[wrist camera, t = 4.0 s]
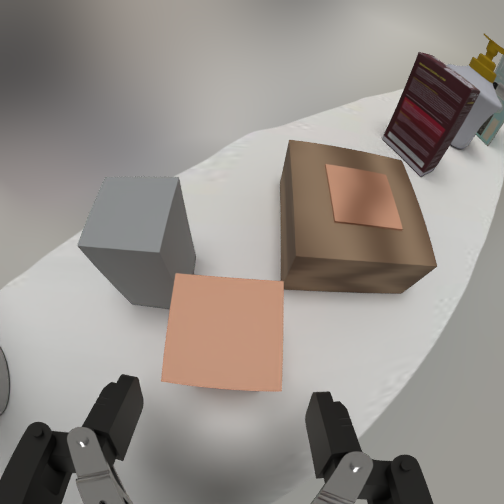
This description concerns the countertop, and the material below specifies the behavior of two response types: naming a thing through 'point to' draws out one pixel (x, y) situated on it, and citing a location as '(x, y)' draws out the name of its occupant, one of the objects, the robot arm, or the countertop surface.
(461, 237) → the countertop surface
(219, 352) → the terracotta pillar
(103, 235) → the slate-grey pillar
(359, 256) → the walnut base block
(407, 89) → the supplement box
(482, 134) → the device
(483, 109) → the soap bottle
